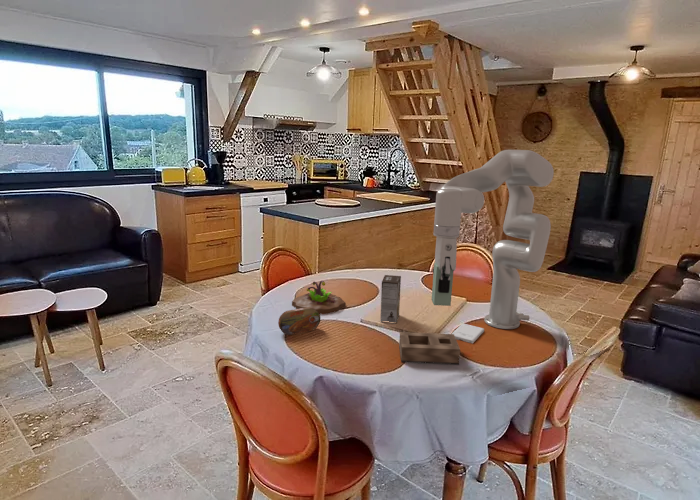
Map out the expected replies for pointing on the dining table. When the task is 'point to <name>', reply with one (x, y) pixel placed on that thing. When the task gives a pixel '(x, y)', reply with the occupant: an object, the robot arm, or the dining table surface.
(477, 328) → the external hard drive
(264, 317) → the dining table surface
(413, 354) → the socket block
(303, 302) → the plant
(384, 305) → the coffee box
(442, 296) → the square peg
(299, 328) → the tin
